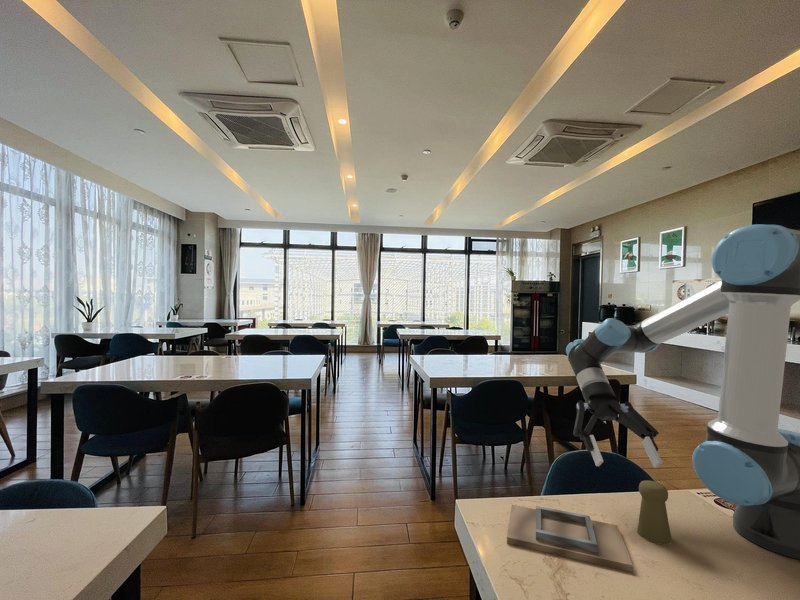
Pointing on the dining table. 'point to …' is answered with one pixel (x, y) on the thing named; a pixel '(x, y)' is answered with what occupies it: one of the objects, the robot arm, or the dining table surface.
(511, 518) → the condiment stand
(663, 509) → the olive pawn shaped shaker
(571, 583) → the dining table surface
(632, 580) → the dining table surface
